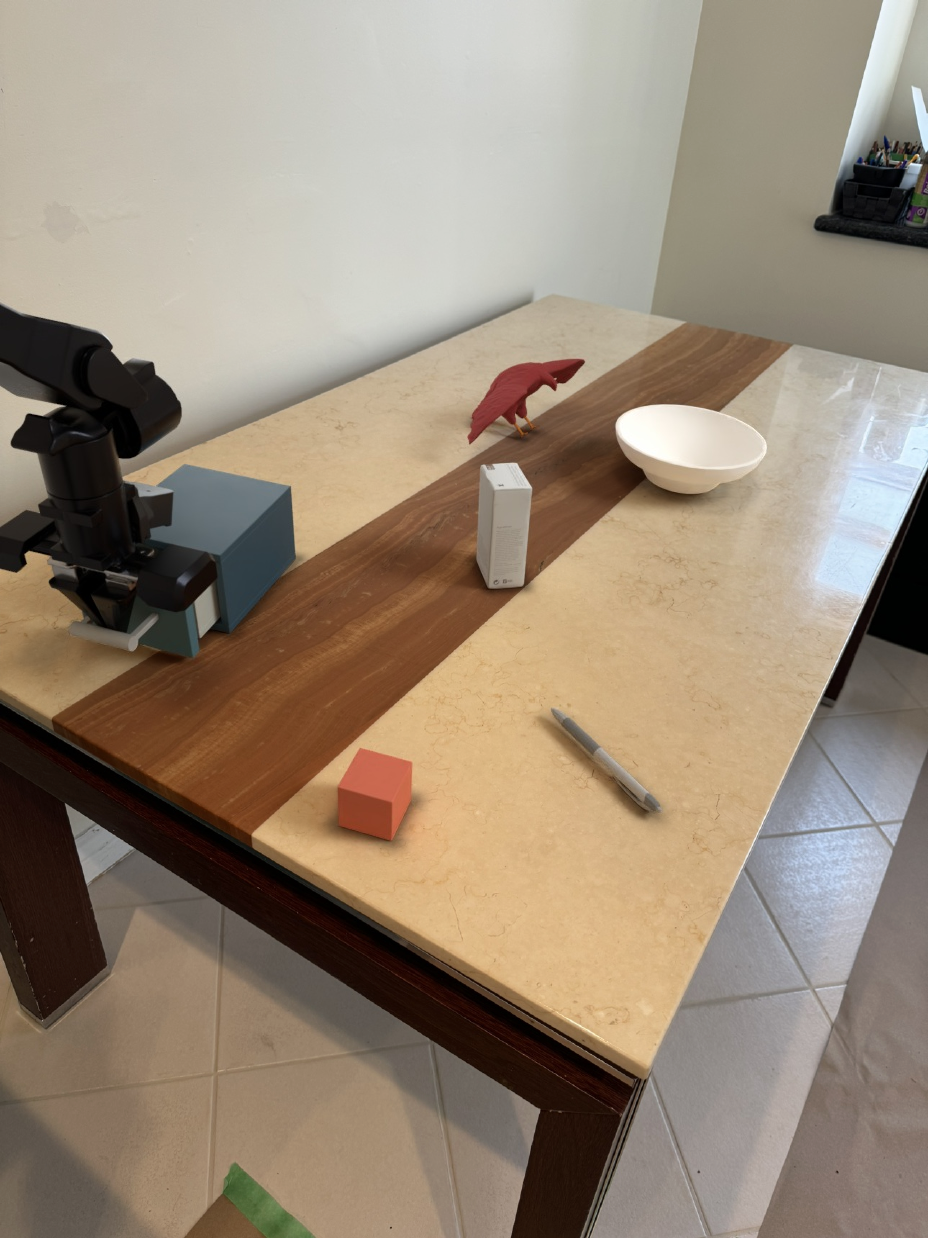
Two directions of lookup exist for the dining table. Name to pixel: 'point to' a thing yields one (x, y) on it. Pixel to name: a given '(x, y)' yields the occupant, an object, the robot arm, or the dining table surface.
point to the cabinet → (231, 533)
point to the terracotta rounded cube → (374, 793)
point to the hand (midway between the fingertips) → (119, 638)
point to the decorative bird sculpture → (519, 392)
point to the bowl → (688, 446)
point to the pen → (609, 763)
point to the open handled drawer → (158, 624)
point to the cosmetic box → (503, 524)
